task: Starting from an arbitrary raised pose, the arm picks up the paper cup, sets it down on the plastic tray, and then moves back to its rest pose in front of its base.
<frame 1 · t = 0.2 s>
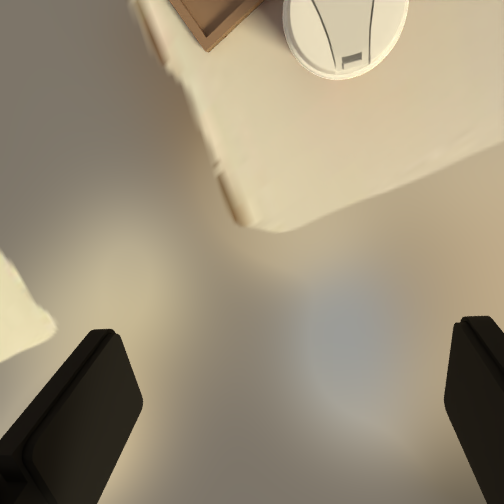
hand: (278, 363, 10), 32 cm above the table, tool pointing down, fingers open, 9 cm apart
paper cup: (327, 35, 34), on the table
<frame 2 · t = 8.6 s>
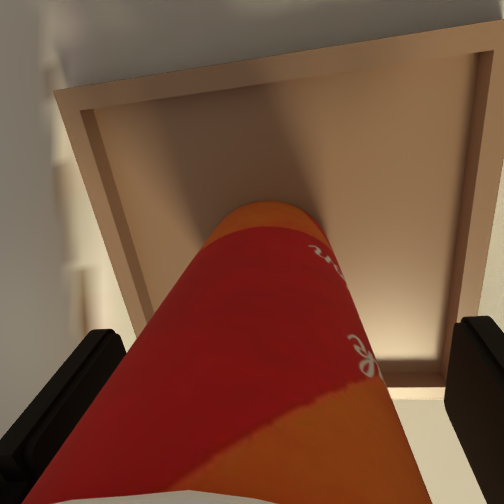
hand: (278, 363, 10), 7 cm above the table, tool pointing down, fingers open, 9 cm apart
tray: (286, 251, 17), on the table
paper cup: (269, 254, 16), resting on tray, touching gripper
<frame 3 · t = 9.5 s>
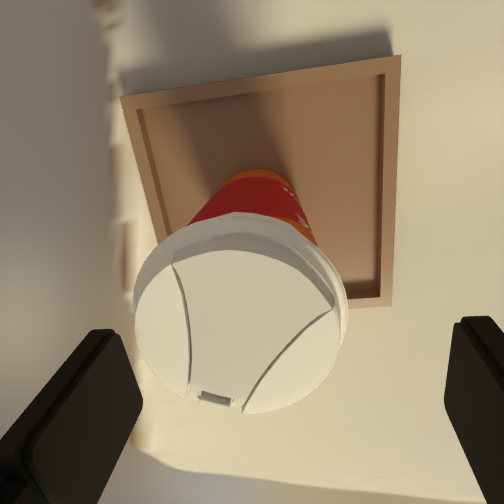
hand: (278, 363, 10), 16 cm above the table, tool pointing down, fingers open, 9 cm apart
tray: (269, 205, 24), on the table
paper cup: (257, 206, 24), resting on tray
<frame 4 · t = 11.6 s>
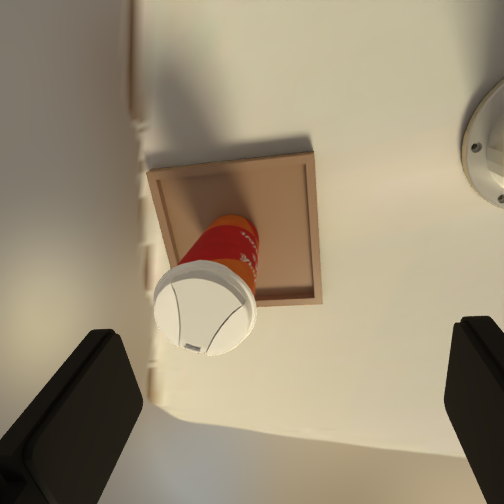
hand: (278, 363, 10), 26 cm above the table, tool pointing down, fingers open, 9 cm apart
tray: (241, 236, 37), on the table
paper cup: (233, 237, 37), resting on tray
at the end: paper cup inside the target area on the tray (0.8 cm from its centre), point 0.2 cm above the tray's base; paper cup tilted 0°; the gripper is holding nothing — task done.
